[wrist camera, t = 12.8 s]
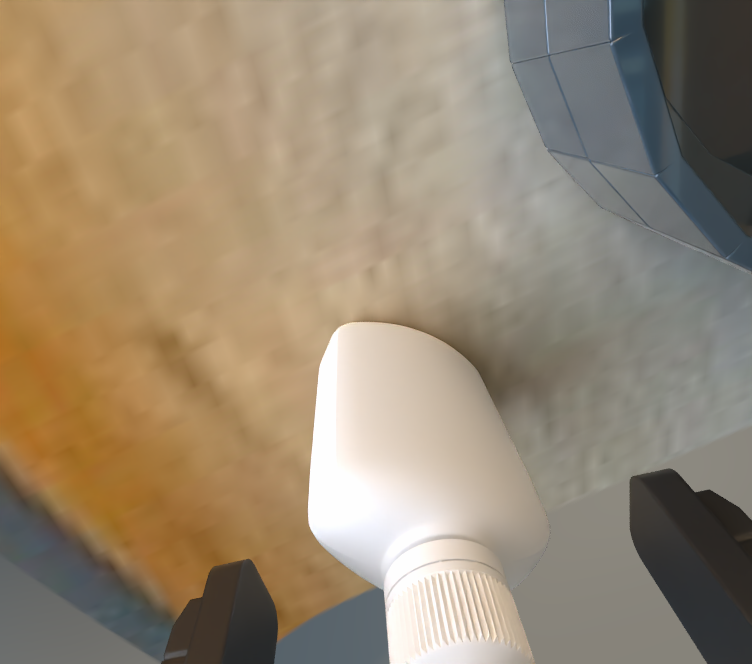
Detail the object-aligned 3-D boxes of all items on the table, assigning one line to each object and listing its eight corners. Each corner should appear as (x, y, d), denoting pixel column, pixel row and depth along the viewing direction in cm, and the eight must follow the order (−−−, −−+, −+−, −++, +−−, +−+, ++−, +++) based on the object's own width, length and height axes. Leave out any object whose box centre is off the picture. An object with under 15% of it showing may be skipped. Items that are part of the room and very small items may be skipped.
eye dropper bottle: (398, 447, 19) (469, 896, 8) (301, 350, 17) (228, 780, 6) (491, 385, 18) (708, 803, 7) (400, 274, 16) (515, 627, 5)
